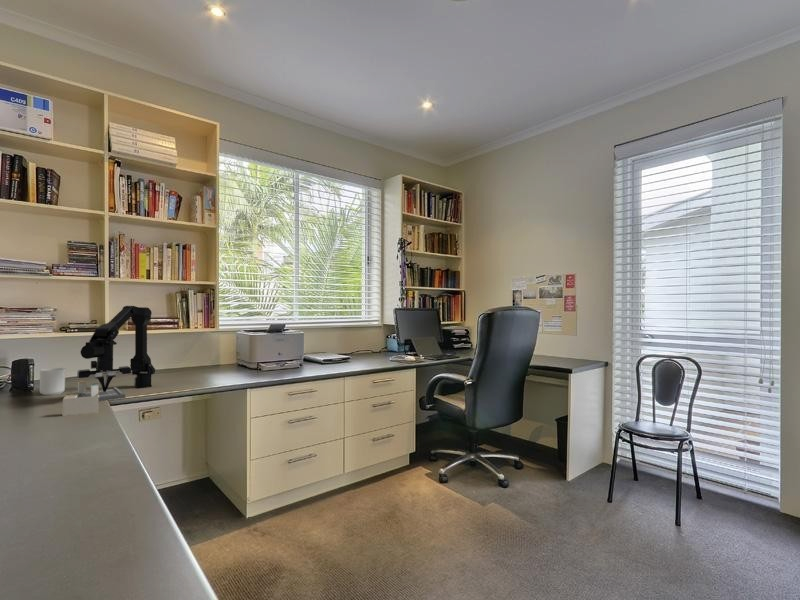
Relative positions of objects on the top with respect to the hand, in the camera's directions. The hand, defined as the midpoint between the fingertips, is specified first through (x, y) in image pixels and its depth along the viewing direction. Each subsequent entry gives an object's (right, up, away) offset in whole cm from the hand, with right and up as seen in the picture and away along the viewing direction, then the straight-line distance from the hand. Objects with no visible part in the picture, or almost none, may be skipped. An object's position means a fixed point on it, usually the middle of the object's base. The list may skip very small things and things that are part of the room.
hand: (104, 391), depth 180 cm
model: (+9, -3, -25) cm, 26 cm away
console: (-5, -3, +2) cm, 6 cm away
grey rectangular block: (-12, -1, +2) cm, 12 cm away
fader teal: (-3, -1, -3) cm, 4 cm away
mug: (-31, -3, +10) cm, 33 cm away
